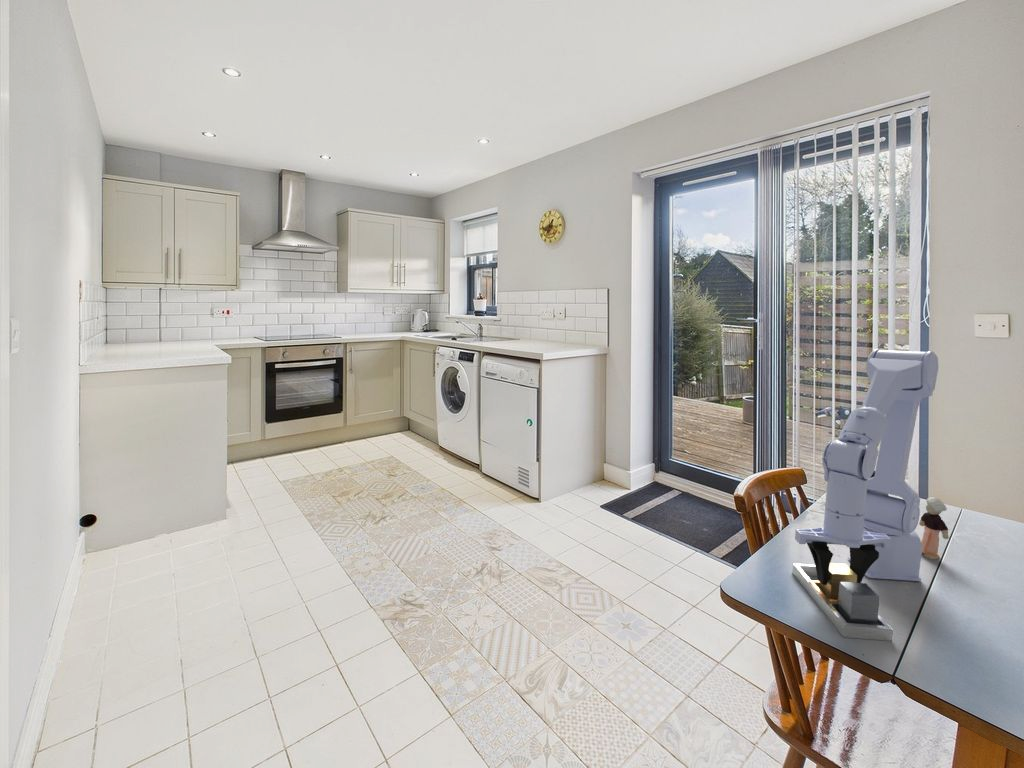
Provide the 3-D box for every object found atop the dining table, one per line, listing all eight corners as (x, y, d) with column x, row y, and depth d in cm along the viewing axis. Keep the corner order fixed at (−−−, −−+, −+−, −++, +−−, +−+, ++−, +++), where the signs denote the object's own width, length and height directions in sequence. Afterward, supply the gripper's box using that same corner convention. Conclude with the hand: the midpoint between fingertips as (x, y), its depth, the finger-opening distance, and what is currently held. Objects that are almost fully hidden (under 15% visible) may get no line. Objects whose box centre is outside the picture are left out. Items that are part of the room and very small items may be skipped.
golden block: (842, 597, 90) (845, 563, 89) (854, 610, 86) (857, 575, 85) (818, 595, 90) (821, 562, 90) (829, 608, 86) (832, 573, 86)
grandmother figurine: (905, 547, 109) (911, 492, 107) (921, 546, 109) (927, 491, 107) (937, 564, 101) (944, 505, 99) (955, 564, 101) (962, 504, 100)
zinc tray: (830, 575, 97) (831, 564, 97) (891, 641, 78) (893, 628, 77) (792, 572, 98) (793, 562, 98) (843, 637, 79) (844, 624, 78)
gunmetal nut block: (862, 619, 83) (865, 583, 82) (876, 634, 79) (879, 596, 78) (836, 617, 84) (839, 581, 83) (848, 632, 80) (852, 594, 79)
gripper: (809, 516, 83) (803, 592, 85) (905, 521, 81) (897, 598, 82) (792, 501, 90) (787, 571, 92) (880, 505, 88) (873, 576, 89)
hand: (838, 583), depth 87 cm, fingers open, 5 cm apart
